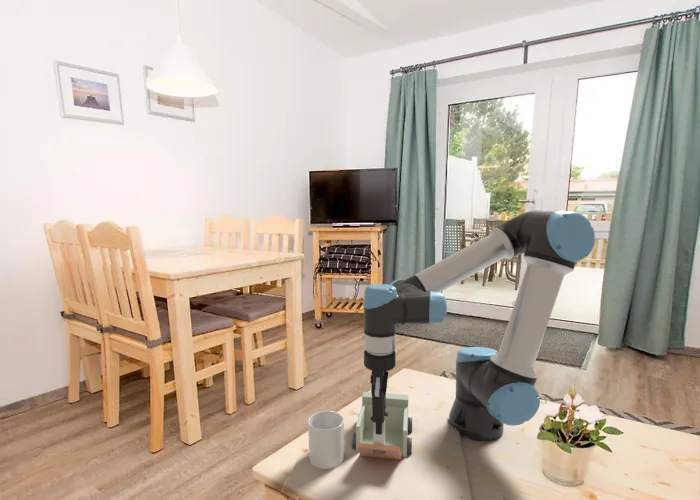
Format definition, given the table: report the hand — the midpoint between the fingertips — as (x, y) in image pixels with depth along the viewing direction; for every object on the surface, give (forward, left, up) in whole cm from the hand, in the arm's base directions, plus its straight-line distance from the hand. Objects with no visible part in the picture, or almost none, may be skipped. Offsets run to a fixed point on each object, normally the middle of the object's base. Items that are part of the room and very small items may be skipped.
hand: (379, 443), depth 95 cm
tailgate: (0, -4, -6) cm, 7 cm away
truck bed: (0, -12, -7) cm, 14 cm away
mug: (+13, -2, -7) cm, 15 cm away
